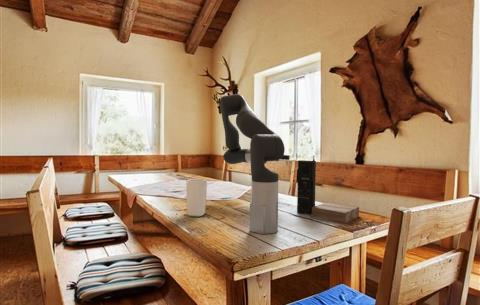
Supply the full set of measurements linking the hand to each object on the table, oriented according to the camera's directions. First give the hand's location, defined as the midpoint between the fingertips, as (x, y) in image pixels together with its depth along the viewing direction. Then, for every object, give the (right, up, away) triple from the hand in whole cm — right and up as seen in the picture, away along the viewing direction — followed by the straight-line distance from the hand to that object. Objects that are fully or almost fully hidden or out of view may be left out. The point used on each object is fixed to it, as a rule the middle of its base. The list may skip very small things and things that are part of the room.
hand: (284, 158), depth 137 cm
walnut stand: (+19, -24, -14) cm, 34 cm away
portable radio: (+8, -24, -7) cm, 26 cm away
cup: (-38, -24, -13) cm, 47 cm away
